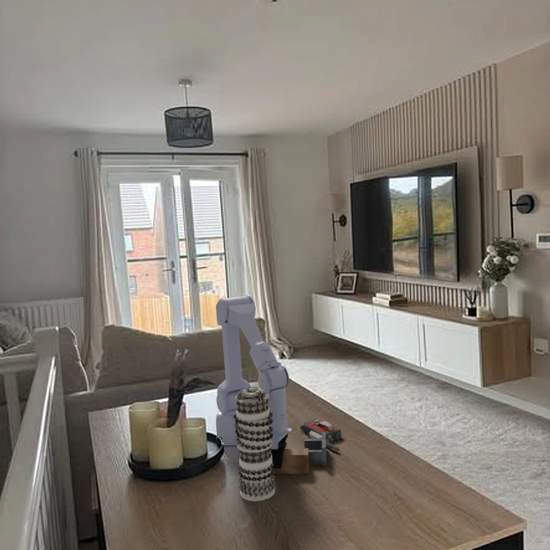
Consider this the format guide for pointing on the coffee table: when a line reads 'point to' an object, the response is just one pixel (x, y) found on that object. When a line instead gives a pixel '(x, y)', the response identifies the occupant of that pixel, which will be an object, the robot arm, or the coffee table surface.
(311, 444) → the bracket
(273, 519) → the coffee table surface
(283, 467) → the brown long rectangular block
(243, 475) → the decorative candle
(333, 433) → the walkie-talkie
